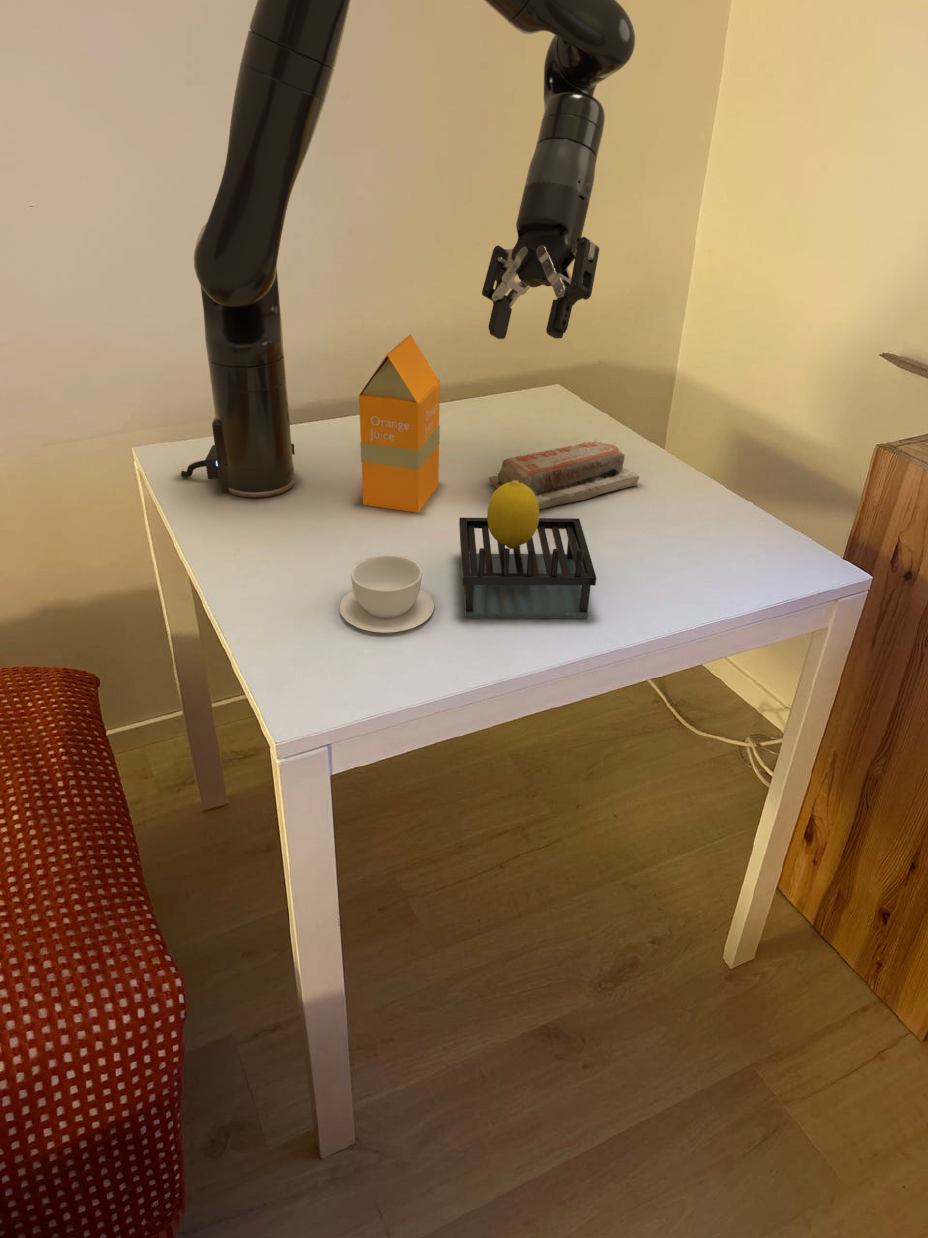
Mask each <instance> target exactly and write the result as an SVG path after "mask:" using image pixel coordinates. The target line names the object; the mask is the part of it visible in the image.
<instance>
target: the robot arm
mask: <svg viewBox="0 0 928 1238" xmlns="http://www.w3.org/2000/svg"><path fill="white" fill-rule="evenodd" d="M483 2H484V3H486V4H487V5H488V6H489V7H491V9H492V10H493V11H495V12H496V13H497V14H498V15H500V16H501V17H502V18H503V19H504V20H505V21H507V23H508V24H509V25H511V26H512V27H513V28H514V29H515V30H517V31H518V32H520V33H522V34H524V35H533V34H536V33H542V32H546V33H551V34H552V35H553V36H552V38H551V41H550V43H549V45H548V49H547V52H546V55H545V59H544V65H543V108H544V109H543V115H542V118H541V123H540V126H539V131H538V136H537V140H536V144H535V149H534V152H533V154H532V158H531V159H530V163H529V166H528V169H527V174H526V178H525V183H524V188H523V192H522V197H521V202H520V205H519V209H518V213H517V214H518V215H517V219H516V224H515V227H516V233H517V240H516V243H515V245H514V247H512V248H507V249H506V248H504V247H502V246H500V245H496V246H495V247H494V248H493V250H492V253H491V256H490V262H489V264H488V268H487V271H486V275H485V278H484V281H483V287H482V289H481V295H482V296H483V297H485V298H487V299H488V300H490V301H491V302H492V309H491V313H490V318H489V323H488V331H489V334H490V336H492V337H494V338H496V339H498V340H504V339H506V337H507V333H508V328H509V326H510V325H509V324H510V320H511V315H512V310H513V308H512V306H513V305H514V304H515V302H516V301H517V300H518V298H519V297H520V296H522V295H525V294H526V293H527V292H528V291H529V290H530V288H538V287H541V286H545V287H552V290H553V292H554V295H555V297H556V299H555V298H554V299H552V302H551V306H550V311H549V316H548V320H547V324H546V328H545V329H546V330H545V332H546V334H547V336H549V337H552V338H553V339H562V338H563V337H564V334H565V333H566V332H567V330H568V328H569V323H570V319H571V314H572V309H573V306H574V305H576V303H577V302H578V301H580V300H582V299H583V300H584V301H585V300H586V301H587V300H588V299H590V298H591V297H592V295H593V294H592V292H593V287H594V282H595V277H596V271H597V265H598V261H599V260H598V259H599V255H600V247H599V246H598V245H597V244H595V243H594V242H593V241H592V240H591V239H588V238H587V237H586V236H583V232H584V227H585V223H586V219H587V215H588V210H589V207H590V201H591V197H592V193H593V189H594V185H595V184H594V182H595V177H596V166H597V160H598V156H599V151H600V147H601V143H602V139H603V134H604V130H605V129H604V128H605V122H606V112H605V110H604V107H603V105H602V103H601V102H600V100H598V99H597V98H596V97H594V94H595V91H596V88H597V86H598V84H601V82H603V81H605V80H606V79H607V78H609V77H610V76H612V75H614V74H616V73H617V72H618V71H620V70H621V69H623V68H624V67H625V66H626V65H627V64H628V62H629V61H630V59H631V58H632V56H633V53H634V51H635V46H636V34H635V29H634V25H633V23H632V20H631V19H630V17H629V15H628V13H627V12H626V10H625V9H624V7H623V6H622V5H621V4H620V3H619V2H618V1H617V0H483ZM350 4H351V0H257V1H256V4H255V7H254V10H253V13H252V16H251V20H250V24H249V27H248V32H247V35H246V39H245V43H244V47H243V52H242V56H241V59H240V64H239V68H238V73H237V79H236V85H235V89H234V90H235V91H234V96H233V102H232V109H231V115H230V116H231V117H230V123H229V124H230V125H229V133H228V134H229V135H228V143H227V144H228V145H227V153H226V157H225V164H224V168H223V173H222V177H221V181H220V184H219V187H218V190H217V193H216V195H215V199H214V202H213V205H212V208H211V210H210V214H209V216H208V218H207V221H206V222H205V223H204V225H203V226H202V228H201V229H200V231H199V233H198V235H197V238H196V242H195V247H194V252H193V268H194V272H195V276H196V278H197V281H198V283H199V285H200V292H201V301H202V309H203V310H202V311H203V321H204V323H203V325H204V339H205V348H206V355H207V362H208V368H209V377H210V384H211V392H212V400H213V408H214V418H213V420H212V423H211V425H212V426H211V428H212V435H213V443H214V444H212V445H211V447H210V449H209V451H208V453H207V454H206V455H207V456H206V458H205V459H204V460H198V461H195V462H193V463H191V464H189V465H188V466H187V468H186V470H181V472H180V476H181V477H182V478H189V477H191V476H192V475H193V472H194V470H196V469H200V468H203V467H205V469H206V475H207V480H218V481H219V488H220V492H221V493H230V494H232V495H234V496H237V497H243V498H252V499H253V498H267V497H268V498H269V497H272V496H277V495H280V494H282V493H284V492H286V491H288V490H290V489H291V488H292V487H294V485H295V483H296V475H295V472H294V471H295V466H294V460H293V459H294V458H293V455H294V456H295V455H296V451H295V444H294V443H292V434H291V423H290V422H291V421H290V411H289V398H288V387H287V373H286V361H285V351H284V335H283V323H282V313H281V303H280V288H279V276H278V259H279V252H280V248H281V240H282V235H283V230H284V225H285V220H286V215H287V210H288V206H289V202H290V198H291V195H292V191H293V189H294V187H295V183H296V181H297V178H298V176H299V173H300V171H301V169H302V166H303V164H304V161H305V159H306V156H307V153H308V152H309V148H310V146H311V144H312V140H313V138H314V135H315V132H316V130H317V127H318V124H319V120H320V117H321V114H322V112H323V109H324V105H325V103H326V100H327V96H328V92H329V89H330V85H331V83H332V79H333V75H334V72H335V68H336V65H337V60H338V57H339V52H340V48H341V44H342V42H343V41H342V40H343V36H344V32H345V28H346V24H347V18H348V15H349V9H350ZM573 261H574V262H573ZM572 263H573V268H572V272H571V274H570V271H569V269H568V268H569V267H570V266H571V264H572ZM516 277H518V279H519V280H520V281H517V280H516V279H515V278H516ZM495 283H496V284H495ZM494 287H495V288H494ZM509 290H510V291H509ZM508 291H509V292H508ZM507 293H508V294H507ZM506 294H507V295H506Z"/></svg>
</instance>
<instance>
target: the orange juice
mask: <svg viewBox="0 0 928 1238" xmlns="http://www.w3.org/2000/svg"><path fill="white" fill-rule="evenodd" d="M440 386H441V381H440V379H439V377H438V376H437V375H436V372H434V369H433V368H432V367H431V365H430V364H429V362H428V360H427V359H426V357H425V356H424V354H423V351H422V350H421V349H420V347H419V346H418V344H417V342H416V341H415V339H414V338H413V336H412V334H411V333H410V334H409V335H407V337H404V339H403V340H402V341H400V342H399V343H398V344H397V345H396V346H395V347H394V348H392V349H391V350H390V351H389V352H388V353H387V354H386V355H385V357H384V358H383V359H382V361H381V362H380V364H379V366H378V367H377V368H376V370H375V371H374V373H373V374H372V376H371V377H370V379H369V380H368V382H367V383H366V385H364V387H363V389H362V390H361V392H360V393H359V395H358V404H359V407H358V408H359V427H360V428H359V429H360V432H359V433H360V462H361V484H362V485H361V486H362V505H363V506H370V507H376V508H381V509H388V510H389V509H390V510H397V511H401V512H409V513H415V514H419V513H420V512H421V510H422V509H423V507H425V505H426V503H427V502H428V501H429V499H430V498H431V496H432V495H433V494H434V493H435V491H436V490H437V488H438V487H439V484H440V483H439V481H440V474H439V473H440V431H441V430H440V429H441V428H440V426H441V425H440V395H441V394H440V393H441V391H440V389H441V387H440Z"/></svg>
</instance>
